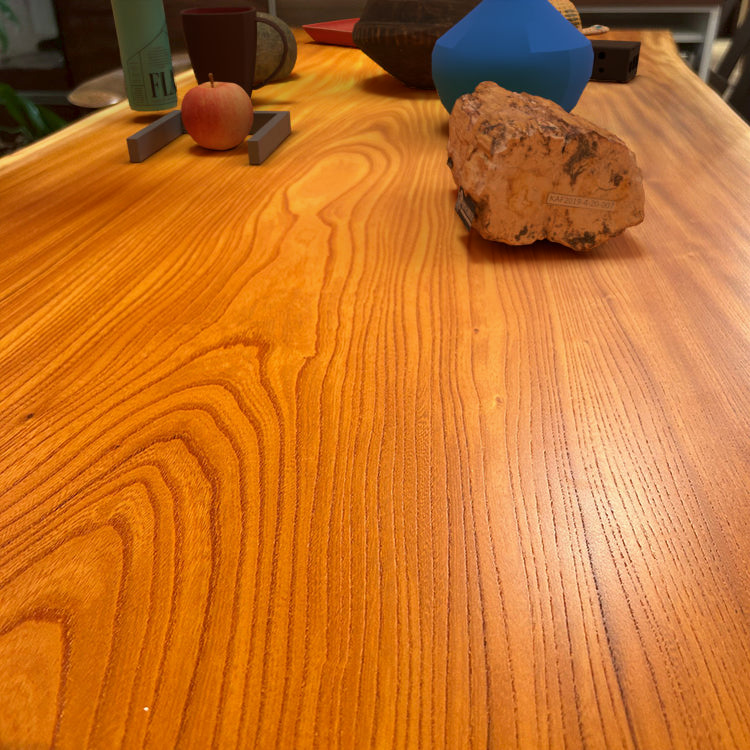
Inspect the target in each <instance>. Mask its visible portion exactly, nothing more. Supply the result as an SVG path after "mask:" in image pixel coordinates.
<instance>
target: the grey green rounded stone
mask: <svg viewBox="0 0 750 750" xmlns="http://www.w3.org/2000/svg"><path fill="white" fill-rule="evenodd" d="M256 12H257V17H262V18H266V19H268V20H270V21H272V22H274V23H275V24H276V25H278V26H279V27H280V28H281V29H282V31H283V32H284V34H285V37H286V39H287V43H288V53H287V57H286V61H285V63H284V66H283V67H282V69H281V70H280V72H279V73H278V74H277V75H276V77H275V78H274V79H273V80H274V81H275V80H281V79H286V78H288V77H289V76H290V75H291V74H292V72H293V70H294V69H295V67H296V63H297V59H298V44H297V40H296V37H295V34H294V32H293V30H292V29H291V27H290V26H289V25H287V23H286V22H285V21H284V20H282V19H281V18H279V17H277V16H275V15H273V14H270V13H268V12H260V11H256ZM283 52H284V44H283V40H282V38H281V36H280V34H279V33H278V32H277V31H276V30H275V29H274V28H273V27H271V26H269V25H267V24H265V23H261V22H257V53H256V67H255V77H254V82H263V81H264V80H265V79H267V78H268V77H269V76H270V75H271V74H272V73H273V72H274V71H275V69H276V68H277V67H278V65H279V64H280V62H281V59H282V56H283ZM273 80H272V81H273Z"/></svg>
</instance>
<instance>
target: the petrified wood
mask: <svg viewBox="0 0 750 750" xmlns="http://www.w3.org/2000/svg"><path fill="white" fill-rule="evenodd" d="M448 135H449V138H448V141H447V144H446V146H445V150H446V151H447V160H446V166H447V167H448V168H449V170H450V173H451V175H452V180H453V182H454V185H455V186H456V189H457V192H458V193H457V198H456V202H455V206H454V212H456V214H457V216H458V217H459V219H460V220H461V221H462V224H463V226H464V227H465V229H466V230H467V232H468V233H470V232H471V228H473V229H475V230H476V231H477V232H478V234H479V235H480V236H481V237H482V238H483V239H484V240H488V241H492V242H494V241H495V242H499V243H505V244H507V245H509V246H523V245H532V244H533V243H534V242H535V241H537V240H540V241H542V240H544V239H546V240H548V241H550V242H554V243H559V244H561V245H563V246H565V247H568V248H570V249H572V250H574V251H576V252H588V251H591V250H592V249H593V248H598V247H599V246H600V245H607V244H608V243H609V242H610V241H611V239H614V238H617V237H621V236H623V235H624V233H625V231H626V229H629V228H633V227H637V226H639V225H640V224H642V223H643V222H644V219H645V217H646V214H645V202H646V193H645V188H644V183H643V180H644V175H643V170H642V169H641V167H640V166H639V164H638V161H637V156H636V153H635V152H634V151H632V150H631V149H630V148H629V147H628V145H627V143H626V142H625V140H622V139H621V138H620V137H618V136H617V135H616V134H614V133H612V132H610V131H608V130H606V129H605V128H603V127H600V126H598V125H597V124H596V123H594V122H591V121H589V120H587V119H586V118H584V117H583V116H581V115H580V114H576V113H573V112H570V113H567V112H566V111H564V109H563V108H562V107H561V106H559V105H557V104H556V103H554V102H553V101H551V100H547V99H544V98H542V97H539V96H532V95H529V94H527V93H525V92H522V93H521V94H518V93H516V92H511V91H508V90H506V89H504V88H502V87H500V86H499V85H497V84H496V83H494V82H491V81H485V82H481V83H480V84H479V85H478V86H477V87H476V88H475V92H473V93H472V94H469V93H468V94H465V95H462V96H461V97H460V98H458V99H457V100H456V102H455V105H454V107H453V110H452V112H451V115H449V119H448Z"/></svg>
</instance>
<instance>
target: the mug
mask: <svg viewBox="0 0 750 750" xmlns="http://www.w3.org/2000/svg"><path fill="white" fill-rule="evenodd" d="M257 12H258V11H257V8H256V7H254V6H251V5H250V6H248V5H247V6H245V5H244V6H243V5H227V6H226V5H221V6H218V5H217V6H199V7H197V6H196V7H190V8H189V7H188V8H186V9H182V10H180V11H179V19H180V25H181V30H182V36H183V40H184V45H185V48H186V51H187V54H188V58H189V61H190V64H191V68H192V71H193V74H194V77H195V80H196V83H197V86H199V85H201V84H203V83H206V82H210V78H209V74H210V73H212V74H213V82H225V83H234V84H237V85H238V86H240V87H241V88H242V89H243V90H244V91H245V92H246V93H247V95H248V96H249V98H250V100H251V99H252V94H253V91H257V90H260V89H263V88H264V87H265V86H266V85H269V83H270V82H272V81H273V79H274V78H275V77H276V75H277V74H278V73H279V72H280V70H281V69H282V67H283V66H284V63H285V61H286V57H287V53H288V43H287V39H286V37H285V34H284V32H283V31H282V29H281V28H280V27H279V26H278V25H276V24H275V23H274V22H272V21H270V20H268V19H266V18H262V17H257ZM257 22H261V23H265V24H267V25H269V26H271V27H273V28H274V29H275V30H276V31H277V32H278V33H279V34H280V36H281V38H282V40H283V44H284V52H283V56H282V59H281V62H280V64H279V65H278V67H277V68H276V69H275V71H274V72H273V73H272V74H271V75H270V76H269V77H268V78H267V79H265V80H264V81H260V82H259V83H257V84H254V83H255V81H254V77H255V67H256V53H257Z"/></svg>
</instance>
